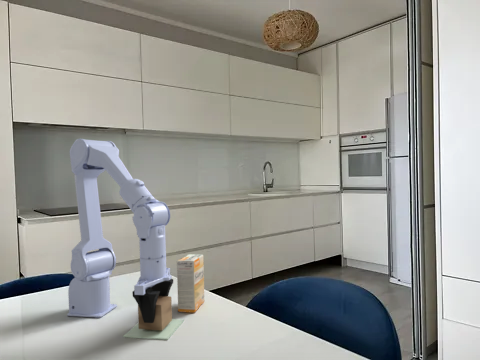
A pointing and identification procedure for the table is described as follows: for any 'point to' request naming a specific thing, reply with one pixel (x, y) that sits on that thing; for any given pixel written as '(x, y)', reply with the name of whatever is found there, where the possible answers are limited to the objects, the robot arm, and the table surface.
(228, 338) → the table surface
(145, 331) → the sage pad
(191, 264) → the supplement box
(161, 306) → the walnut block
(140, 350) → the table surface
